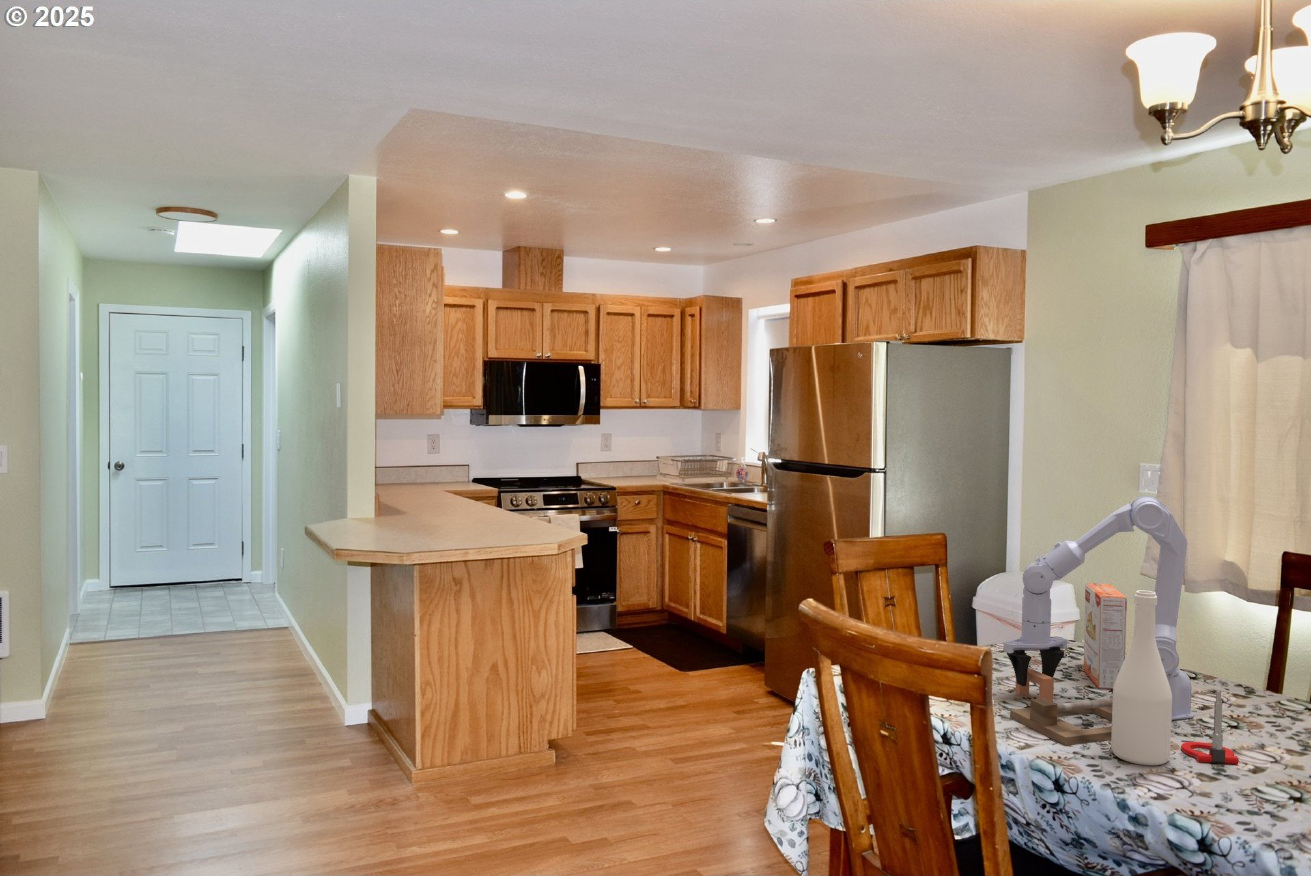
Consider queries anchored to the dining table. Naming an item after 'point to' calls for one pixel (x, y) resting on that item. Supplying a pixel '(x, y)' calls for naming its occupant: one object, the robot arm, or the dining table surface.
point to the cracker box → (1104, 633)
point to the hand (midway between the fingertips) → (1034, 683)
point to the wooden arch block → (1044, 685)
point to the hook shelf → (1047, 723)
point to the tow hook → (1215, 749)
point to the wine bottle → (1142, 694)
